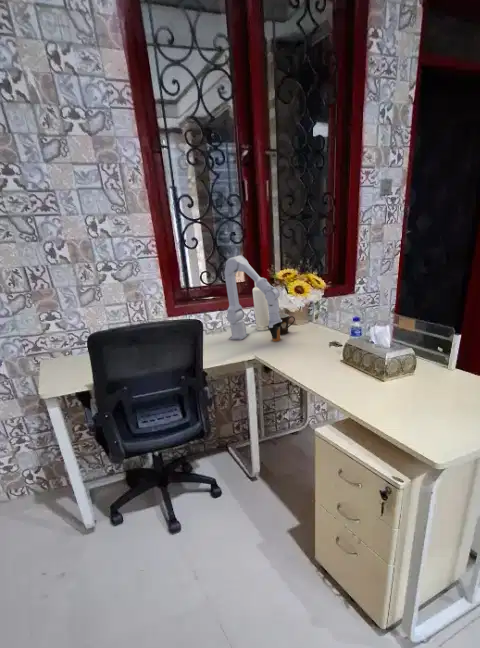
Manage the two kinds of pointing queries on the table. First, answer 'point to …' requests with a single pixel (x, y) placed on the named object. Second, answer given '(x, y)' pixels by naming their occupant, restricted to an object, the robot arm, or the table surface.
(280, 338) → the amber jar
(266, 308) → the bottle
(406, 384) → the table surface
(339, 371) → the table surface
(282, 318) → the coffee mug
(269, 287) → the robot arm
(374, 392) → the table surface
